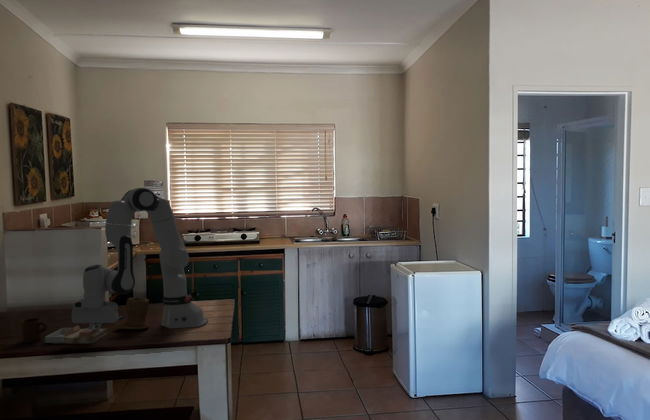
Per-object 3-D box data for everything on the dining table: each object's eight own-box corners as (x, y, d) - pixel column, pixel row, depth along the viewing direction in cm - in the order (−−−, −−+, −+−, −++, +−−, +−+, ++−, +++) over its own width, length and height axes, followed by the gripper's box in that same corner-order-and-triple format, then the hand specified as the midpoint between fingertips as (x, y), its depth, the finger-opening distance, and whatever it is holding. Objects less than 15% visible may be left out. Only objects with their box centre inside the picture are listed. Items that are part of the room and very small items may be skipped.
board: (107, 333, 239) (107, 328, 239) (92, 343, 225) (91, 337, 225) (80, 334, 240) (80, 328, 240) (63, 343, 226) (63, 337, 226)
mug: (54, 339, 233) (52, 318, 232) (41, 344, 226) (39, 323, 225) (32, 337, 236) (31, 317, 235) (18, 342, 228) (17, 322, 228)
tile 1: (80, 328, 238) (78, 324, 238) (74, 331, 233) (72, 327, 233) (71, 333, 239) (69, 330, 238) (65, 337, 234) (63, 333, 233)
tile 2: (95, 333, 232) (95, 329, 231) (90, 336, 227) (90, 332, 226) (85, 333, 232) (85, 329, 232) (79, 336, 227) (79, 332, 227)
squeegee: (108, 314, 272) (123, 315, 268) (109, 317, 272) (123, 318, 268) (61, 329, 246) (76, 331, 241) (62, 333, 246) (77, 335, 242)
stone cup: (154, 325, 252) (153, 295, 251) (142, 332, 240) (141, 300, 240) (126, 324, 255) (125, 294, 254) (113, 331, 243) (111, 300, 242)
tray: (79, 334, 240) (79, 327, 240) (62, 343, 226) (62, 336, 226) (62, 334, 240) (62, 327, 240) (45, 343, 226) (44, 336, 226)
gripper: (120, 300, 231) (121, 330, 231) (76, 300, 232) (77, 330, 232) (114, 303, 224) (115, 334, 225) (68, 303, 225) (70, 334, 226)
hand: (96, 332), depth 229 cm, fingers closed
